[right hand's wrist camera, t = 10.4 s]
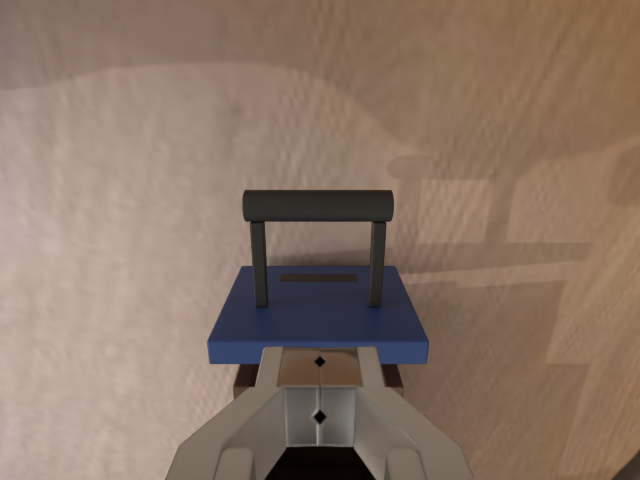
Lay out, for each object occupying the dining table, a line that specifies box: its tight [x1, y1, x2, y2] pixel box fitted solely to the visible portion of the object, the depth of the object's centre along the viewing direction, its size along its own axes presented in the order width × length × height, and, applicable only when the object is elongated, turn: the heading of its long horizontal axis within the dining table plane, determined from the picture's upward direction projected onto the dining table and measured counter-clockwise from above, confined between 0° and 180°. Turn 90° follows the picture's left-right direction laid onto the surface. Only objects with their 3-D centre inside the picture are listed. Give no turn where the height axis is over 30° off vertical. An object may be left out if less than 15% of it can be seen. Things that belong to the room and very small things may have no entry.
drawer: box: [207, 190, 429, 480], centre depth 22 cm, size 22×10×8 cm, turn 0°
